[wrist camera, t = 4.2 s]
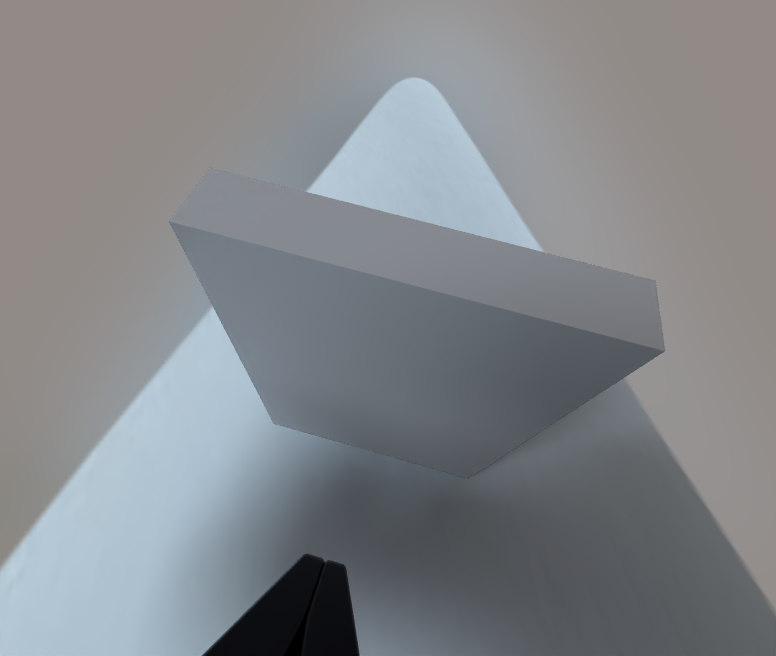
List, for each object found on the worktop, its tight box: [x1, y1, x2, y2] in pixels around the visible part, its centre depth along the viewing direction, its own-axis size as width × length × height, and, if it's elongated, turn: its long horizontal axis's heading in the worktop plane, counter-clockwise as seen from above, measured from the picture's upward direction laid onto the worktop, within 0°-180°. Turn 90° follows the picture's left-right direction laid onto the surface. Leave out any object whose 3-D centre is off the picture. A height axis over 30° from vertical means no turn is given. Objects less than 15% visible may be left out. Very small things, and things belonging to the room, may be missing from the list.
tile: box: [169, 168, 665, 478], centre depth 11 cm, size 2×8×11 cm, turn 76°
